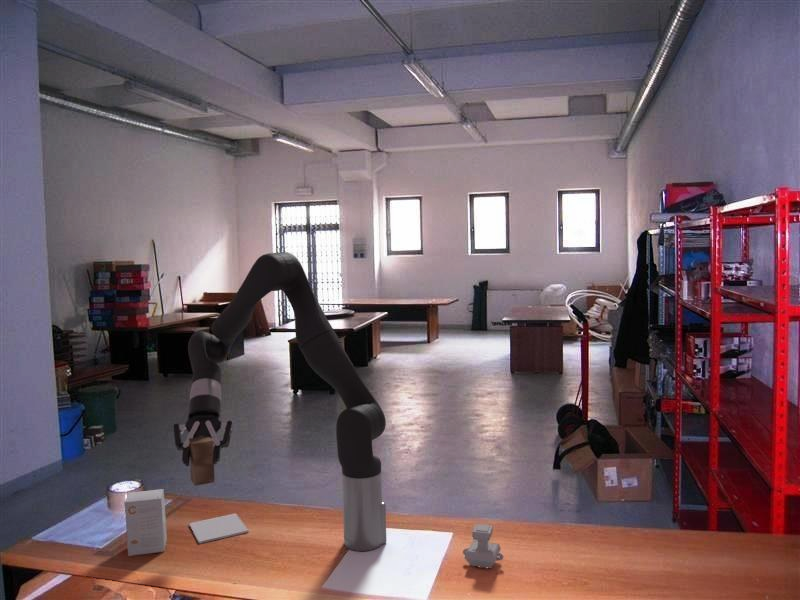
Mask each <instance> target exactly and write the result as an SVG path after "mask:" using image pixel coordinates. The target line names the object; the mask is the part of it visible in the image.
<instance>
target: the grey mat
mask: <svg viewBox="0 0 800 600" xmlns="http://www.w3.org/2000/svg"><path fill="white" fill-rule="evenodd" d="M188 526H189V528H190V527H191V528H190V529H192V530H191V531H193V532H192V534H193V535H194V537H195V539H196V541H197V542H198V544H199V545H200V544H204V543H207V542H208V543H209V542H212V541H216V540H220V539H225V538H226V539H227V538H230V537H234V536H237V535H242V534H246V533H249V529H248V527H247V526H246V525H245V523H244V522H243V520H241V518H240V517H239V516H238V514H237V513H236V512H235V513H232V514H231V513H229V514H227V515H221V516H217V517H212V518H207V519H203V520H198V521H193V522H189V523H188Z"/></svg>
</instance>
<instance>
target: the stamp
mask: <svg viewBox="0 0 800 600" xmlns="http://www.w3.org/2000/svg"><path fill="white" fill-rule="evenodd" d="M493 531H494V525H492V524H482V523H479V524H478V523H475V524H474V526H473V529H472V532H471V533H472V534H471V537H472V539H473V540H472V541H471V543H470V545H469V547H468V548H467V547H466V548H464V549H463V550H462V554H463V556H464V559H465V561H466V562H467V563H468V564H469V565H470V566H471V565H472V566H471V567H475V566H480V567H479V568H482V567H488V568H491V569H492V568H493V566H494V565H495V563H496V562H497V561H502V560H504V555H503V554H502V553H501V552H500V551H501V546H500V543H496V542H489V541H490V540H491V537H492V535H493ZM488 568H487V569H488Z"/></svg>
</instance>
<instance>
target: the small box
mask: <svg viewBox="0 0 800 600" xmlns="http://www.w3.org/2000/svg"><path fill="white" fill-rule="evenodd" d="M165 504H166V503H165V490H164V488H159V489H151V490H143V491H133V492H128V494H127V496H126V498H125V501H124V513H125V515H124V516H125V528H126V529H125V530H126V543H127V544H126V545H127V556H128V557H131V556H132V557H133V556H140V555H141V556H142V555H148V554H154V553H163V552H165V549H166V546H167V545H166V544H167V540H168V539H167V522H166V521H167V518H166V505H165Z"/></svg>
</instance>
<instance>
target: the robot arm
mask: <svg viewBox="0 0 800 600" xmlns="http://www.w3.org/2000/svg"><path fill="white" fill-rule="evenodd" d="M278 291H282V292H283V293H284V295H285V297H286V298H287V299H288V302H289V303H290V305H291V308H292V310H293V314H294V327H295V328H294V329H295V338H296V343H297V345H298V348H299V349H300V351H301V353H302V355H303V356H304V359H305V361H306V362H307V364H308V366H309V367H310V369H312V370H313V371H314V372H315V374H316V375H318V376H319V377H320V378H321V379H322V380H323V381H324V382H326V383H327V384H328V385H330V386H331V387H332V388H333V389H334V390H335V391H336V393H337V394H338V396H339V397H340V398H341V401H342V402H343V404H344V405H345V409H344V410H342V411H341V412H340V413H339V415H338V417H337V420H336V425H335V426H336V427H335V431H336V448H337V449H336V450H337V458H338V459H337V460H338V462H339V464H340V466H341V476H342V477H341V478H342V479H341V480H342V506H343V507H342V509H343V511H342V513H343V519H342V520H343V542H344V546H345V548H347V549H349V550H352V551H357V552H359V551H360V552H365V551H372V550H375V549H377V548H380V547H381V546H382V545H383V544H386V543H387V512H386V511H387V509H386V503H385V502H384V501H383V490H382V487H383V485H382V484H383V483H382V461H381V458H379V457H378V456H376V455H374V454H373V453H374V452H373V440H375V439H378V438H379V437H380V436H381V435H382V434H383V433H384V432H385V429H386V425H387V424H386V423H387V422H386V417H385V414H384V411H383V409H382V408H381V405H380V404H379V403H378V401H377V400H376V398H375V397H374V396H373V394H372V392H370V390H369V389H368V387H367V385H366V384H365V383H364V382H363V380H362V378H361V376H360V374H359V373H358V371H357V369H356V368H355V366H354V364H353V362H352V361H351V359H350V357H349V355H348V354H347V352H346V350H345V348H344V346H343V344H342V342H341V340H340V338H339V337H338V335H337V333H336V332H335V330H334V328H333V326H332V324H331V323H330V322H329V320H328V318H327V316H326V314H325V312H324V310H323V308H322V306H321V305H320V303H319V301H318V299H317V297H316V295H315V294H314V291H313V289H312V287H311V284H310V281H309V279H308V277H307V274H306V272H305V269H304V268H303V265H302V263H301V262H300V260H299V259H298V258H297V257H296V256H295V255H294V254H292V253H290V252H286V251H284V252H283V251H282V252H271V253H266V254H262V255H261V256H259V257H258V258H257V259H256V260H255V262H254V264H252V266H251V267H250V269H249V271H248V273H247V275H246V277H245V279H244V280H243V282H242V283H241V285H240V287H239V288H238V290H237V292H236V294H234V297H233V298H232V299H231V301H229V303H228V304H227V306H226V307H225V308H224V309H223V310H222V312H221V313H220V314H219V315H218V316H217V317H216V319H214V321H213V322H212V324H211V333H209V332H206V331H202V330H200V331H196V332H194V333H193V334H192V335H191V336H190V338H189V340H188V345H187V352H188V357H189V361H190V365H191V371H192V380H191V388H190V393H189V403H188V415H187V419H186V420H187V421H186V422H185V423H182V424H179V423H174V424H173V433H174V434H173V435H174V444H175V448H176V450H177V451H182V459H181V460H182V463H183V465H185V467H190V449H189V445H190V442H189V439H192V438H197V437H203V436H209V437H210V438H211V439H212V440H213V464H214V465H217V464H218V463H219V462H220V460H221V450H222V449H223V448H228V447H229V445H230V441H231V436H232V432H233V428H234V425H233V422H232V420H228V421H227V422H225V421H222V420H221V406H222V405H221V404H222V387H221V385H222V370H221V367H220V366H219V364H221V363H224V361H225V360H226V359H228V357H229V354H230V351H231V350H232V349H231V348H232V347H233V344H234V342H235V340H237V337H238V336H239V335H240V334H241V333H242V332H243V331H244V330H245V328H247V326H249V323H250V322H251V320H252V318H253V315H254V311H255V308H256V305H257V304H258V303H259V302H260V301H261V300H262V299H263V298H264V297H265V296H267V295H269V294H270V293H271V292H278ZM221 428H222V430H223V431H224V434H223V438H222V440H219V437H218V435H217V433H218V432H219V431H220V429H221ZM185 430H186V431H187V432H188V435H187V436H186V439H185V441H184V442H182V435H183V434H184V432H185Z"/></svg>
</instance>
